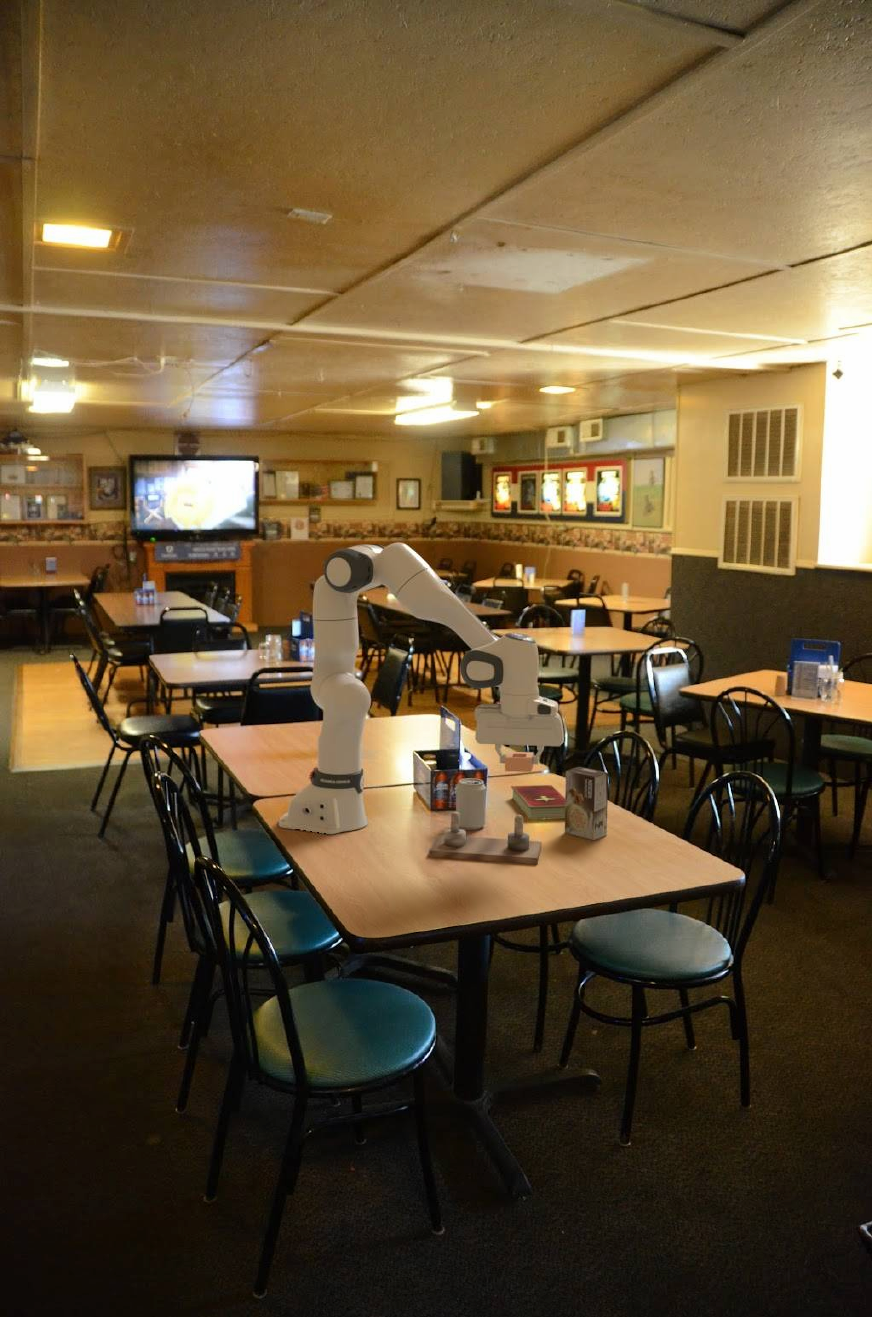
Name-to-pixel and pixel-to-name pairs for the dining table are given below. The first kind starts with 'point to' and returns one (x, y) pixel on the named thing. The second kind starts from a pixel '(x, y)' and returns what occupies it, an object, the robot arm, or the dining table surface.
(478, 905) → the dining table surface
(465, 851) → the stand board
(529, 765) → the collar
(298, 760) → the dining table surface
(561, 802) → the hardcover book
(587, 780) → the coffee box
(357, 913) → the dining table surface
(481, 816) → the can
